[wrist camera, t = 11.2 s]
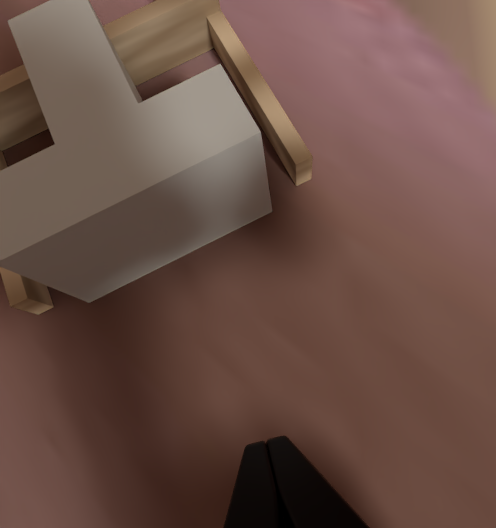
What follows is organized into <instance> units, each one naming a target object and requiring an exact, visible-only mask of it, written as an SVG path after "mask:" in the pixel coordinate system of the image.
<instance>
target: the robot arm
mask: <svg viewBox="0 0 496 528" xmlns="http://www.w3.org/2000/svg"><path fill="white" fill-rule="evenodd" d="M267 448H268V449H267ZM269 457H270V458H269ZM283 517H284V518H283ZM285 526H286V527H285ZM223 528H370V527H369V526H368V525H367V524H366V523H365V522H364V521H363V520H362V519H361V518H360V516H359V515H358V514H357V513H356V512H355V511H354V510H353V509H352V508H351V507H350V505H349V504H348V503H347V502H346V501H345V500H344V499H343V498H342V497H341V496H340V494H339V493H338V492H337V491H336V490H335V489H334V488H333V487H332V486H331V485H330V484H329V482H328V481H327V480H326V479H325V478H324V477H323V476H322V475H321V474H320V473H319V471H318V470H317V469H316V468H315V467H314V466H313V465H312V464H311V463H310V462H309V460H308V459H307V458H306V457H305V456H304V455H303V454H302V453H301V452H300V451H299V449H298V448H297V447H296V446H295V445H294V444H293V443H292V442H291V441H290V440H289V439H288V438H287V437H286V436H280V437H276V438H272V439H269V440H267V445H266V443H265V442H264V441H260V442H256V443H252V444H248V445H247V446H246V447H245V449H244V453H243V457H242V460H241V464H240V468H239V471H238V475H237V479H236V483H235V486H234V490H233V494H232V497H231V501H230V505H229V509H228V512H227V516H226V520H225V523H224V527H223Z"/></svg>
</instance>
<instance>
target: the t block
mask: <svg viewBox="0 0 496 528" xmlns="http://www.w3.org/2000/svg"><path fill="white" fill-rule="evenodd" d="M8 24H9V26H10V29H11V31H12V34H13V37H14V39H15V42H16V44H17V47H18V50H19V52H20V55H21V57H22V60H23V63H24V65H25V68H26V70H27V73H28V76H29V78H30V81H31V83H32V86H33V89H34V91H35V94H36V96H37V99H38V102H39V104H40V107H41V109H42V112H43V115H44V117H45V120H46V122H47V125H48V128H49V130H50V133H51V135H52V138H53V141H54V143H55V144H54V145H52V146H50V147H48V148H46V149H44V150H42V151H40V152H38V153H36V154H34V155H32V156H30V157H28V158H26V159H24V160H21V161H19V162H17V163H15V164H13V165H11V166H9V167H7V168H5V169H3V170H1V171H0V267H2V268H5V269H7V270H10V271H12V272H14V273H17V274H19V275H22V276H24V277H27V278H29V279H32V280H34V281H37V282H39V283H41V284H44V285H46V286H49V287H51V288H54V289H56V290H59V291H61V292H64V293H66V294H68V295H71V296H73V297H76V298H78V299H81V300H83V301H86V302H88V303H90V302H92V301H94V300H96V299H98V298H100V297H102V296H104V295H106V294H108V293H110V292H112V291H114V290H116V289H118V288H120V287H122V286H124V285H126V284H128V283H130V282H132V281H134V280H136V279H138V278H140V277H142V276H144V275H146V274H148V273H150V272H152V271H154V270H156V269H158V268H160V267H162V266H164V265H166V264H168V263H170V262H172V261H174V260H176V259H178V258H180V257H182V256H184V255H186V254H188V253H190V252H192V251H194V250H196V249H198V248H200V247H202V246H204V245H206V244H208V243H210V242H212V241H214V240H216V239H218V238H220V237H222V236H224V235H226V234H228V233H230V232H232V231H234V230H236V229H239V228H241V227H243V226H245V225H247V224H249V223H251V222H253V221H255V220H257V219H259V218H261V217H263V216H265V215H267V214H269V213H271V212H273V211H272V205H271V198H270V191H269V184H268V177H267V170H266V164H265V157H264V150H263V143H262V136H261V131H260V130H259V128H258V126H257V125H256V123H255V121H254V120H253V118H252V116H251V115H250V113H249V111H248V110H247V108H246V106H245V104H244V103H243V101H242V99H241V98H240V96H239V94H238V93H237V91H236V89H235V88H234V86H233V84H232V82H231V81H230V79H229V77H228V76H227V74H226V72H225V71H224V69H223V67H222V66H221V64H219V65H217V66H214V67H212V68H210V69H208V70H206V71H204V72H202V73H200V74H198V75H196V76H194V77H192V78H190V79H188V80H186V81H184V82H182V83H180V84H178V85H175V86H173V87H171V88H169V89H167V90H165V91H163V92H161V93H159V94H157V95H155V96H153V97H151V98H149V99H147V100H145V101H143V100H142V98H141V96H140V94H139V92H138V90H137V89H136V87H135V85H134V83H133V81H132V79H131V77H130V76H129V74H128V72H127V70H126V68H125V66H124V65H123V63H122V61H121V59H120V57H119V55H118V53H117V52H116V50H115V48H114V46H113V44H112V42H111V40H110V39H109V37H108V35H107V33H106V31H105V29H104V27H103V26H102V24H101V22H100V20H99V18H98V16H97V15H96V13H95V11H94V9H93V7H92V5H91V3H90V2H89V0H50V1H48V2H46V3H43V4H41V5H39V6H37V7H35V8H33V9H31V10H29V11H27V12H25V13H23V14H20V15H18V16H16V17H14V18H12V19H10V20H8Z"/></svg>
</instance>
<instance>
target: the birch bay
mask: <svg viewBox="0 0 496 528" xmlns="http://www.w3.org/2000/svg"><path fill="white" fill-rule="evenodd" d="M103 27H104V29H105V31H106V33H107V35H108V37H109V39H110V40H111V42H112V44H113V46H114V48H115V50H116V52H117V53H118V55H119V57H120V59H121V61H122V63H123V65H124V66H125V68H126V70H127V72H128V74H129V76H130V77H131V79H132V81H133V83H134V85H135V86H137V85H139V84H141V83H143V82H145V81H147V80H149V79H152V78H154V77H156V76H158V75H160V74H162V73H164V72H166V71H168V70H170V69H172V68H174V67H176V66H178V65H180V64H182V63H184V62H186V61H189V60H191V59H193V58H195V57H197V56H199V55H201V54H203V53H205V52H207V51H209V50H211V49H213V48H214V49H215V50H216V52H217V54H218V55H219V57H220V59H221V60H222V62H223V64H224V65H225V67H226V69H227V70H228V72H229V74H230V76H231V77H232V79H233V81H234V82H235V84H236V86H237V87H238V89H239V91H240V92H241V94H242V96H243V97H244V99H245V101H246V102H247V104H248V106H249V107H250V109H251V111H252V113H253V114H254V116H255V118H256V119H257V121H258V123H259V124H260V126H261V128H262V129H263V131H264V133H265V134H266V136H267V138H268V139H269V141H270V143H271V144H272V146H273V148H274V150H275V151H276V153H277V155H278V156H279V158H280V160H281V161H282V163H283V165H284V166H285V168H286V170H287V171H288V173H289V175H290V176H291V178H292V180H293V181H294V183H295V185H296V186H298V185H300V184H302V183H304V182H306V181H308V180H310V179H311V174H312V158H313V157H312V155H311V153H310V152H309V150H308V149H307V147H306V145H305V144H304V142H303V141H302V139H301V137H300V136H299V134H298V133H297V131H296V129H295V128H294V126H293V125H292V123H291V121H290V120H289V118H288V117H287V115H286V113H285V112H284V110H283V109H282V107H281V106H280V104H279V102H278V101H277V99H276V98H275V96H274V94H273V93H272V91H271V90H270V88H269V86H268V85H267V83H266V82H265V80H264V78H263V77H262V75H261V74H260V72H259V70H258V69H257V67H256V66H255V64H254V62H253V61H252V59H251V58H250V56H249V54H248V53H247V51H246V50H245V48H244V46H243V45H242V43H241V42H240V40H239V39H238V37H237V35H236V34H235V32H234V31H233V29H232V27H231V26H230V24H229V23H228V21H227V19H226V18H225V16H224V15H223V13H222V11H221V9H220V4H219V0H156V1H154V2H152V3H150V4H148V5H146V6H144V7H142V8H139V9H137V10H135V11H133V12H131V13H129V14H127V15H125V16H123V17H121V18H119V19H117V20H115V21H112V22H110V23H108V24H106V25H104V26H103ZM47 129H49V128H48V125H47V122H46V120H45V117H44V115H43V112H42V109H41V107H40V104H39V102H38V99H37V96H36V94H35V91H34V89H33V86H32V83H31V81H30V78H29V76H28V73H27V70H26V68H25V65H24V64H23V65H21V66H19V67H17V68H15V69H13V70H11V71H8V72H6V73H4V74H2V75H0V171H1V170H3V169H5V168H7V164H6V161H5V158H4V155H3V152H2V151H3V150H5V149H7V148H10V147H12V146H14V145H16V144H18V143H20V142H22V141H24V140H26V139H28V138H30V137H32V136H34V135H36V134H38V133H40V132H42V131H45V130H47ZM0 273H1V277H2V280H3V284H4V287H5V290H6V294H7V297H8V301H9V304H10V307H13V308H16V309H20V310H23V311H27V312H30V313H34V314H38V315H39V314H41V313H43V312H45V311H47V310H49V309H51V308H53V307H54V306H53V303H52V300H51V297H50V294H49V291H48V288H47V286H46V285H44V284H41V283H39V282H37V281H34V280H32V279H29V278H27V277H24V276H22V275H19V274H17V273H14V272H12V271H10V270H7V269H5V268H2V267H0Z"/></svg>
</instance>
